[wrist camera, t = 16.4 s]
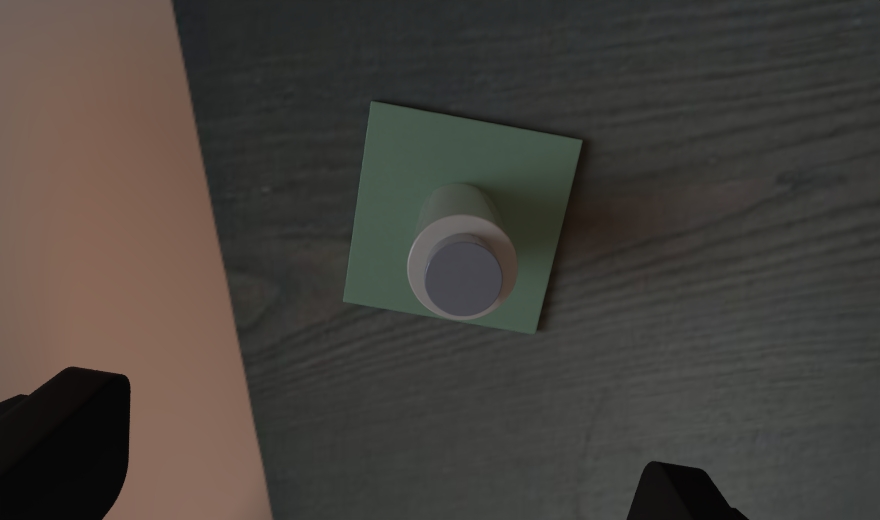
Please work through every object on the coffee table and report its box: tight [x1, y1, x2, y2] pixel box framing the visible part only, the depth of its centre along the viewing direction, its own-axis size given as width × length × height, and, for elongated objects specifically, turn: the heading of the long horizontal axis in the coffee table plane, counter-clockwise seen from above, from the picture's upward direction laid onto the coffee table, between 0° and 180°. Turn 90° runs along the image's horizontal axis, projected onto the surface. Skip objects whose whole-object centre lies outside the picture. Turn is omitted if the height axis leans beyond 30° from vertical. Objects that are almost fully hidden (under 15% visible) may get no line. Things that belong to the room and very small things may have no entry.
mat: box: [343, 101, 583, 334], centre depth 33 cm, size 12×12×1 cm
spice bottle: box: [407, 183, 518, 320], centre depth 28 cm, size 5×5×10 cm
